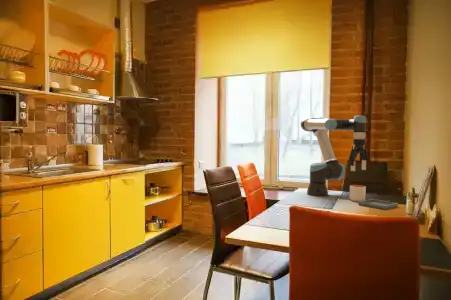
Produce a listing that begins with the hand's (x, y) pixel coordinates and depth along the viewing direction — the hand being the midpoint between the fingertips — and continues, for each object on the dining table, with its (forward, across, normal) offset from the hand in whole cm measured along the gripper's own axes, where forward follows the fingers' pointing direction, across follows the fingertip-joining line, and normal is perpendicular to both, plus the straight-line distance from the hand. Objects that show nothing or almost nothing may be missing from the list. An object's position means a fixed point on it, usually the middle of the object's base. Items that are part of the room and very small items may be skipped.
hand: (358, 170), depth 222 cm
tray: (+21, -5, -17) cm, 27 cm away
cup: (+21, 0, 0) cm, 21 cm away
